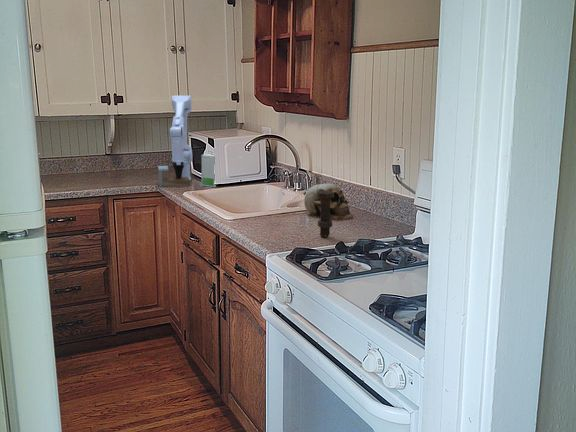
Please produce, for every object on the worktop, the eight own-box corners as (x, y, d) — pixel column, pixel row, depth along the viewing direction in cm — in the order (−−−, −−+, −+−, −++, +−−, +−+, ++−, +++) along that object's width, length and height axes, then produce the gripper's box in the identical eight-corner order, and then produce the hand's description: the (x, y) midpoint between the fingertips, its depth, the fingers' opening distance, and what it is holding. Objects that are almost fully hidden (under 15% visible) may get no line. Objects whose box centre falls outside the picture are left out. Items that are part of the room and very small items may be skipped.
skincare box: (201, 186, 298) (200, 154, 294) (208, 184, 303) (208, 153, 300) (215, 187, 294) (214, 155, 291) (222, 185, 300) (222, 154, 296)
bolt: (313, 237, 196) (314, 192, 193) (318, 234, 200) (319, 190, 197) (331, 239, 194) (331, 193, 191) (335, 235, 198) (336, 191, 195)
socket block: (162, 183, 305) (162, 177, 304) (188, 182, 308) (188, 177, 307) (162, 186, 296) (162, 180, 295) (189, 185, 298) (189, 179, 298)
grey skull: (354, 219, 223) (351, 183, 221) (308, 224, 223) (304, 189, 220) (348, 212, 238) (345, 178, 236) (305, 217, 238) (301, 183, 236)
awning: (159, 183, 305) (158, 166, 303) (168, 183, 306) (167, 165, 304) (159, 187, 295) (158, 168, 293) (169, 186, 296) (168, 168, 294)
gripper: (186, 151, 292) (187, 179, 295) (185, 148, 306) (186, 175, 309) (171, 152, 291) (172, 179, 294) (171, 149, 305) (172, 175, 307)
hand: (178, 177), depth 301 cm, fingers open, 7 cm apart
